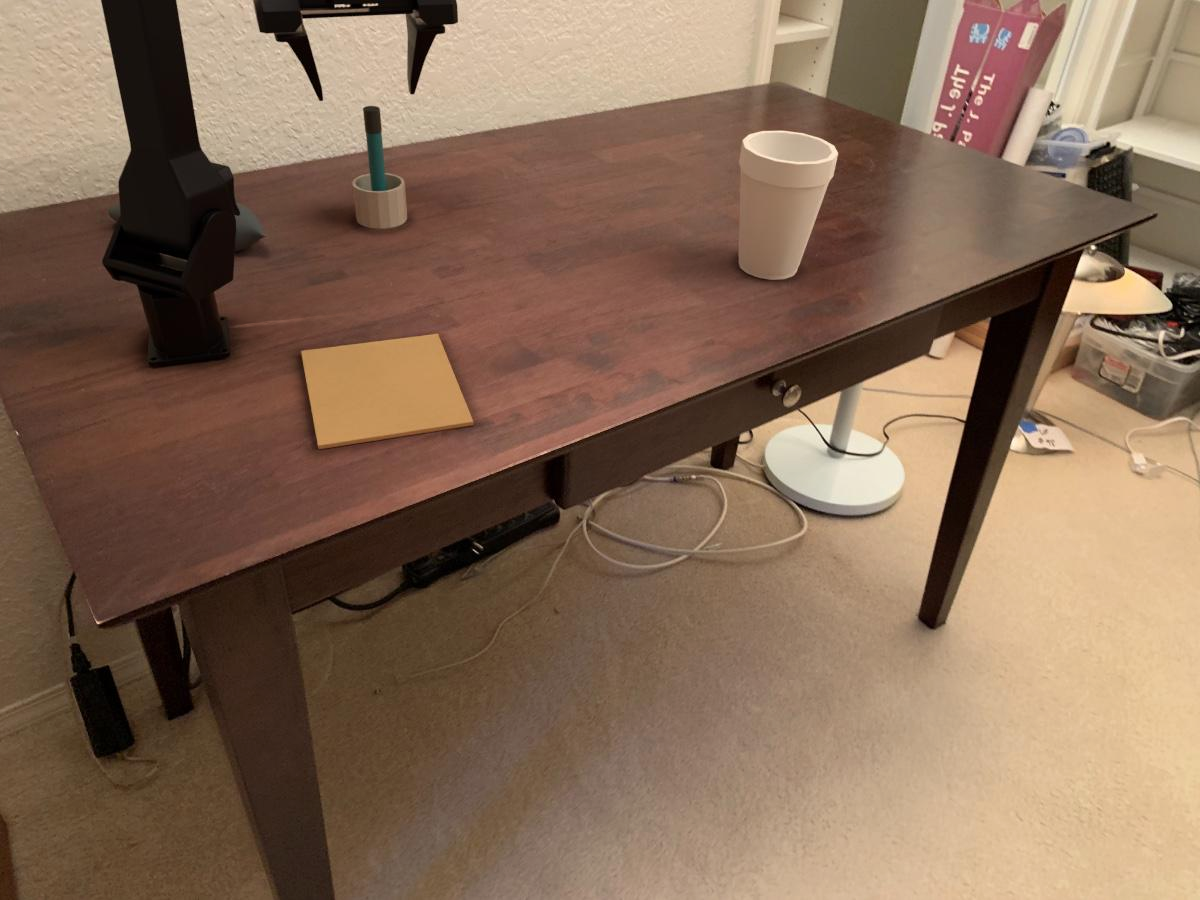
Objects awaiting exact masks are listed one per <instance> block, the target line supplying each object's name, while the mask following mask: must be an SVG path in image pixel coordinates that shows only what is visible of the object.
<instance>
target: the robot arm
mask: <svg viewBox="0 0 1200 900" xmlns="http://www.w3.org/2000/svg"><path fill="white" fill-rule="evenodd" d="M100 2H101V7H102V13H103V18H104V22H105V27H106V32H107V36H108V41H109V46H110V52H111V56H112V59H113V60H112V61H113V65H114V70H115V75H116V81H117V86H118V91H119V95H120V101H121V105H122V110H123V115H124V120H125V124H126V130H127V135H128V139H129V146H130V151H129V154H128V155H127V159H126V161H125V164H124V166H123V168H122V171H121V173H120V176H119V178H118V183H117V184H118V185H117V186H118V200H119V201H118V202H119V204H120V217H119V219H118V222H116V224H115V226H114V229H113V231H112V235H111V237H110V239H109V242H108V244H107V247H106V249H105V252H104V254H103V257H102V260H101V264H102V265H103V267H104V268H105V270H106V271H107V273H108V274H109V276H110V277H111V278H112V280H114V281H116V282H117V281H118V282H121V281H122V282H125V283H128V284H132V285H135V286H136V287H137V290H138V295H139V298H140V302H141V305H142V309H143V312H144V316H145V319H146V322H147V326H148V341H147V342H148V343H147V344H148V345H147V359H146V360H147V363H148V365H149V367H158V366H159V367H160V366H167V365H177V364H185V363H193V362H199V361H208V360H217V359H224V358H228V357H230V356H231V354H232V353H231V340H230V327H229V326H230V325H229V320H228V317H227V316H220V311H219V306H218V302H217V299H216V294H215V292H216V291H218V290H219V289H221V288H223V287H224V286H226V285H228V284H229V283H231V282H232V281H233V280H234V275H235V274H234V272H235V271H234V270H235V257H236V256H235V255H236V254H235V253H236V252H235V239H236V219H235V215H237V216H239V215H240V211H239V209H238V207H237V205H236V203H237V201H236V197H235V177H234V175H233V172H232V170H231V168H230V166H229V165H225V164H221V163H217V162H212V161H211V160H210V159H209V158H208V156H207V155H206V153H205V152H204V151H203V149H202V147H201V144H200V143H201V142H200V137H199V132H198V125H197V119H196V113H195V108H194V101H193V96H192V89H191V83H190V76H189V70H188V66H187V65H188V64H187V59H186V58H187V57H186V52H185V45H184V39H183V33H182V27H181V20H180V15H179V9H178V2H177V0H100ZM252 2H253V3H252V4H253V8H254V14H255V18H256V23H257V26H258V27H257V28H258V30H259V31H258V32H259V33H262V34H267V35H268V34H273V36H274V40H275V41H276V42H278V43H287V45H289V47H290V49H291V50H292V52H293V53H294V55H295V56H296V58H297V59H298V61H299V62H300V64H301V66H302V68H303V69H304V72H305V73H306V76H307V78H308V80H309V82H310V85H311V86H312V88H313V90H314V93H315V95H316V97H317V99H318V101H319V102H323V101H324V93H323V86H322V83H321V79H320V75H319V72H318V68H317V65H316V60H315V58H314V53H313V50H312V47H311V46H312V45H311V42H310V40H309V35H308V33H307V30H306V28H305V25H304V20H306V19H307V20H308V19H325V18H327V19H328V18H329V19H330V18H347V17H348V18H349V17H350V18H351V17H372V16H374V17H375V16H392V15H393V16H394V15H405V23H406V32H407V49H406V50H407V51H406V52H407V56H406V58H407V59H406V60H407V62H406V63H407V65H406V75H407V76H406V77H407V88H408V93H409V94H410V95H415V94H416V91H417V87H418V83H419V80H420V77H421V74H422V71H423V68H424V65H425V62H426V58H427V56H428V54H429V52H430V50H431V48H432V46H433V43H434V42H435V39H436V36H437V35H442V34H445V33H446V26H447V25H456V24H458V23H459V12H458V11H459V10H458V2H457V0H252ZM376 4H377V5H376ZM339 5H344V6H339ZM303 19H304V20H303Z"/></svg>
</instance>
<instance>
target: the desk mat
mask: <svg viewBox="0 0 1200 900" xmlns="http://www.w3.org/2000/svg"><path fill="white" fill-rule="evenodd" d="M300 355H301V360H302V365H303V371H304V375H305V376H304V377H305V381H306V382H305V383H306V389H307V394H308V400H309V405H310V410H311V416H312V421H313V427H314V432H315V438H316V444H317V448H318V450H324V449H329V448H337V447H343V446H348V445H356V444H362V443H368V442H375V441H381V440H389V439H393V438H401V437H407V436H413V435H414V436H415V435H420V434H426V433H433V432H439V431H447V430H452V429H459V428H463V427H464V428H465V427H470V426H471V427H472V426H474V419H473V417H472V414H471V412H470V410H469V407H468V405H467V402H466V400H465V397H464V395H463V392H462V390H461V387H460V385H459V383H458V380H457V378H456V376H455V373H454V371H453V367H452V365H451V363H450V360H449V358H448V354H447V353H446V350H445V348H444V346H443V343H442V340H441V339H440V336H439V333H432V334H425V335H416V336H408V337H401V338H400V337H399V338H392V339H385V340H375V341H369V342H359V343H352V344H347V345H346V344H343V345H337V346H330V347H329V346H328V347H320V348H313V349H304V350H301V351H300Z"/></svg>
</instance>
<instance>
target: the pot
mask: <svg viewBox="0 0 1200 900" xmlns="http://www.w3.org/2000/svg"><path fill="white" fill-rule="evenodd" d="M385 177H386V188H387V191H372V189H371V179H370V172H369V173H365V174H361V175H359V176H357V177H355V178H353V180H352V181H351V186H352V196H353V203H354V204H353V205H354V214H355V220H356V223H358V224H359V225H360V226H363V227H364V228H368V229H375V230H383V229H384V230H385V229H386V230H387V229H392V228H396V227H399V226H402V225H403V224H405V223H406V222H407V220H408V208H407V207H408V206H407V195H406V194H407V193H406V182H405V180H404V178H403V177H401V176H399V175H397V174H393V173H390V172H385Z"/></svg>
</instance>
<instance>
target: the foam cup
mask: <svg viewBox="0 0 1200 900" xmlns="http://www.w3.org/2000/svg"><path fill="white" fill-rule="evenodd" d="M740 146H741V148H740V154H739V160H738V165H739V168H740V178H739V179H740V185H739V220H738V221H739V223H738V266H739V268H740V269H741V270H742V271H743V272H745V273H746V274H748V275H750V276H752V277H754V278H755V277H756V278H759V279H764V280H769V281H778V280H786V279H788V278H792V277H794V276H795V275H796V273H797V272H798V269H799V267H800V264H801V262H802V259H803V257H804V253H805V251H806V248H807V245H808V242H809V240H810V237H811V234H812V231H813V228H814V226H815V223H816V220H817V218H818V214H819V211H820V209H821V206H822V204H823V200H824V197H825V194H826V192H827V189H828V187H829V184H830V182H831V180H832V179H833V177H834V175H835V171H836V166H837V165H836V164H837V161H838V157H839V152H838V149H836V146H835V145H834V144H833V143H830V142H829V141H826V140H825V139H823V138H821V137H818V136H814V135H810V134H807V133H803V132H796V131H789V130H761V131H756V132H754V133H749V134H748V135H746V136H745V137H744V138H743V139H742V140H741V145H740Z"/></svg>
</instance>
